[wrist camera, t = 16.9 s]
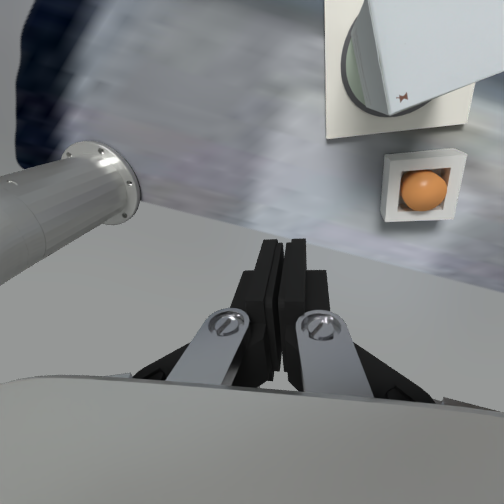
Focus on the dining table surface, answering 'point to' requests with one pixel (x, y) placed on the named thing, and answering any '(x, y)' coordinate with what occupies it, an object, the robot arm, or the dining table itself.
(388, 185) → the button housing
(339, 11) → the picture board
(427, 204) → the button
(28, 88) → the dining table surface
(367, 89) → the supplement box
